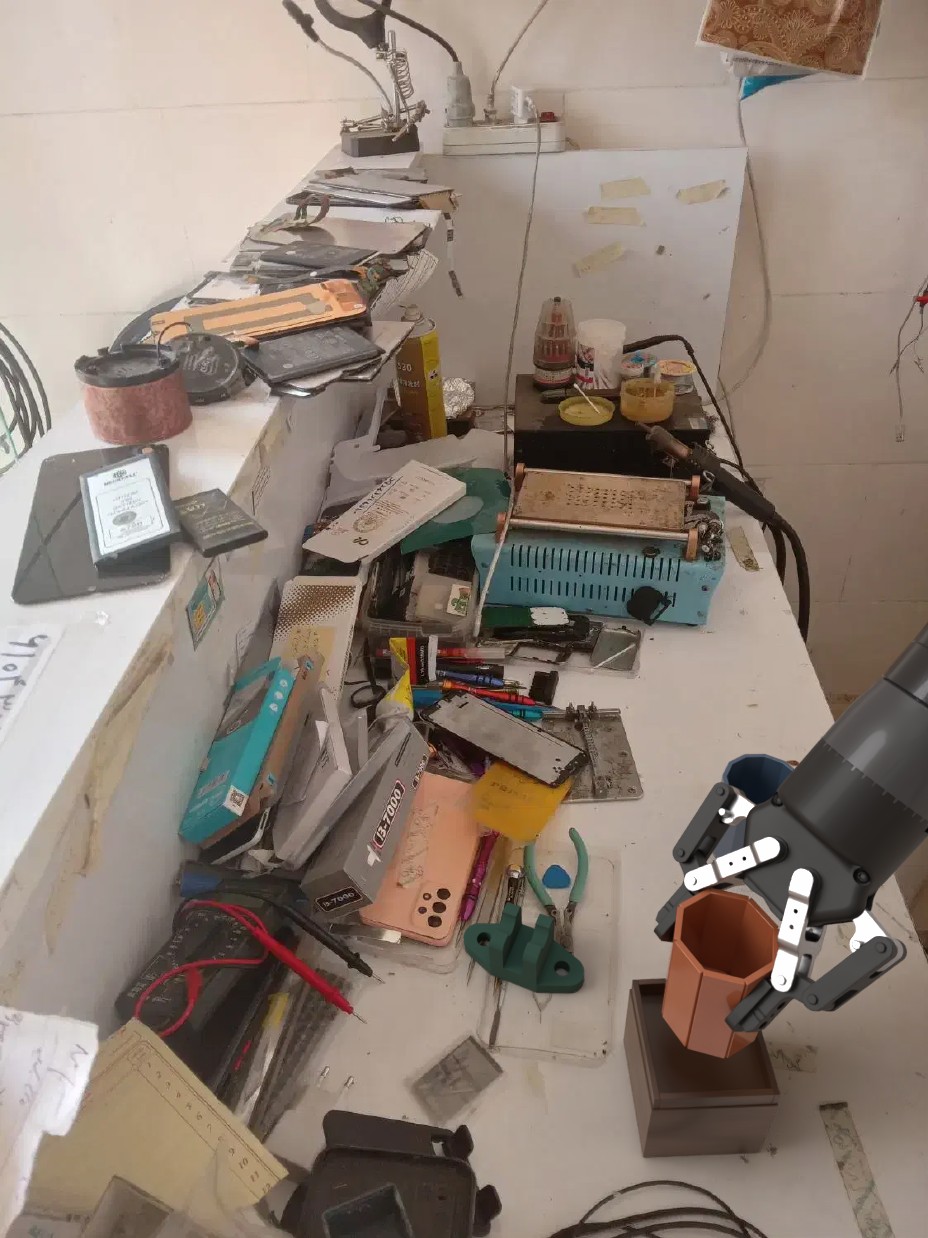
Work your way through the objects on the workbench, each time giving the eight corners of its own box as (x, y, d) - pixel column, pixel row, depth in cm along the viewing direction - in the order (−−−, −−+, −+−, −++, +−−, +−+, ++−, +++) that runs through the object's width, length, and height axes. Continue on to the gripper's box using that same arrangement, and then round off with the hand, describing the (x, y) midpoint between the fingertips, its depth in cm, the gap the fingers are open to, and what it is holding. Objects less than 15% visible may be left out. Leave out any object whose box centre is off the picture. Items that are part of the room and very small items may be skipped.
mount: (455, 961, 72) (451, 929, 69) (475, 918, 75) (472, 886, 72) (574, 1007, 68) (576, 976, 65) (590, 960, 71) (592, 928, 68)
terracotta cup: (776, 1026, 53) (802, 951, 48) (704, 1073, 51) (722, 1001, 46) (713, 952, 58) (730, 875, 52) (644, 992, 56) (654, 917, 50)
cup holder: (728, 1035, 66) (746, 973, 60) (759, 1153, 59) (782, 1096, 53) (623, 1039, 66) (630, 978, 60) (642, 1157, 59) (653, 1101, 54)
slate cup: (802, 859, 78) (823, 793, 72) (746, 891, 76) (762, 826, 70) (750, 808, 83) (765, 743, 77) (695, 837, 81) (707, 772, 75)
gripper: (763, 686, 50) (595, 886, 54) (978, 857, 40) (754, 1092, 43) (811, 717, 55) (655, 898, 59) (1013, 875, 45) (810, 1085, 48)
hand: (698, 979), depth 51 cm, fingers closed on terracotta cup, 6 cm apart
